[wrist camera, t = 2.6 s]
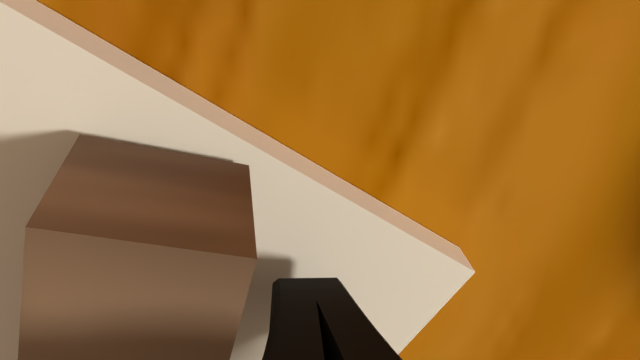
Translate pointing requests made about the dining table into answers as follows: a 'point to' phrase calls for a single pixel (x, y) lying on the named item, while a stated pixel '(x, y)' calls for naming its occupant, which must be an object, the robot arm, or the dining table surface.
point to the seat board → (212, 142)
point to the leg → (137, 256)
